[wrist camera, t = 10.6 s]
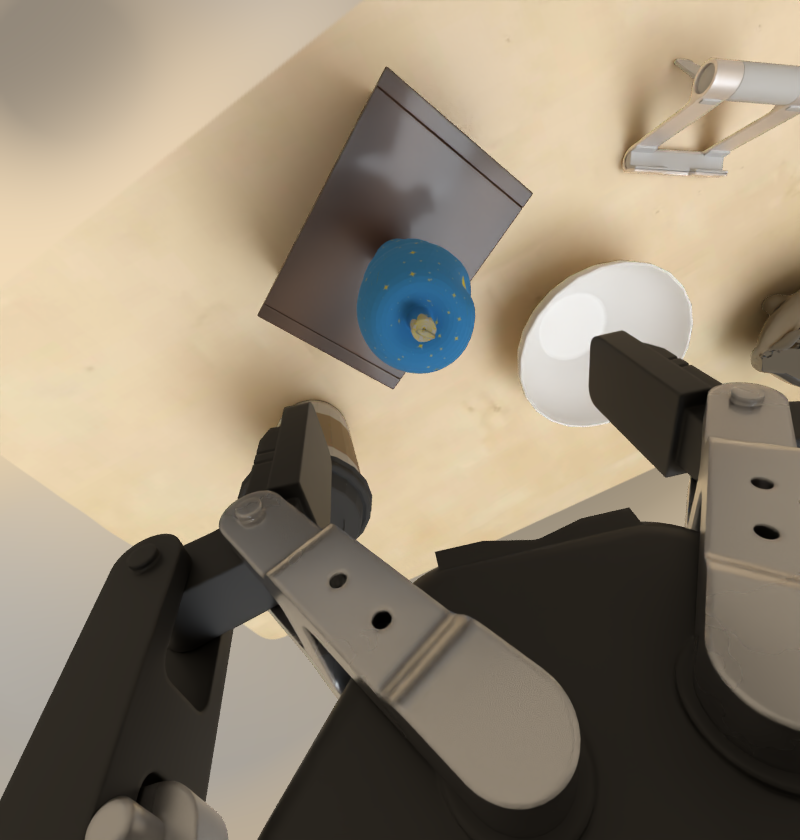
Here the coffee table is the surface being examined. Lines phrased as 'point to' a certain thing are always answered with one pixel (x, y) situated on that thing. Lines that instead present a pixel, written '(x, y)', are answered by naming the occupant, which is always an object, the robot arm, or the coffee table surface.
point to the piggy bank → (780, 339)
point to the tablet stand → (710, 88)
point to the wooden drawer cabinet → (388, 218)
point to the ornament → (415, 306)
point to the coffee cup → (340, 473)
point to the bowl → (596, 332)
